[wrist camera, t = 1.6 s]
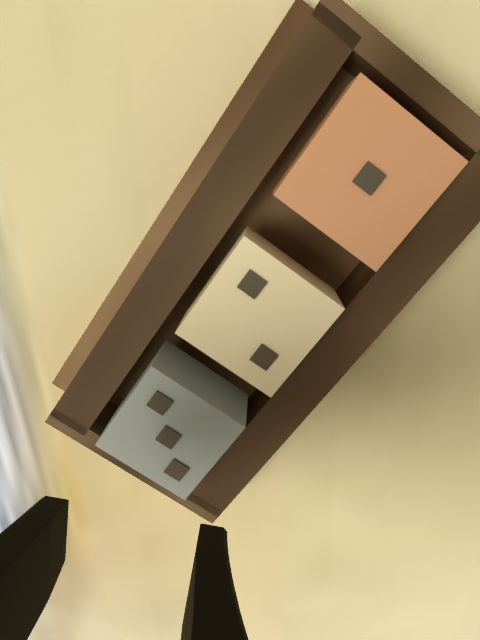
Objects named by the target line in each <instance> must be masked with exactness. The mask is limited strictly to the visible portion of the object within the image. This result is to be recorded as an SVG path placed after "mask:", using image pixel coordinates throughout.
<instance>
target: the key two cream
mask: <svg viewBox="0 0 480 640" xmlns="http://www.w3.org/2000/svg"><path fill="white" fill-rule="evenodd" d="M344 310H345V308H344V306H343V304H342V302H341V301H340V299H339V297H338V295H337V293H336V292H335V290H334V289H333V288H332V287H330V286H329V285H328V284H326V283H325V282H324V281H322V280H321V279H320V278H318V277H317V276H315V275H314V274H313V273H311V272H310V271H309V270H307V269H306V268H304V267H303V266H302V265H300V264H299V263H298V262H296V261H295V260H294V259H292V258H291V257H289V256H288V255H287V254H285V253H284V252H283V251H281V250H280V249H278V248H277V247H276V246H274V245H273V244H272V243H270V242H269V241H267V240H266V239H265V238H263V237H262V236H261V235H259V234H258V233H257V232H255V231H254V230H252V229H251V228H250V227H248V226H247V227H246V228H245V230H244V231H243V232H242V234H241V235H240V237H239V238H238V239H237V241H236V242H235V244H234V245H233V247H232V248H231V249H230V251H229V252H228V254H227V255H226V256H225V258H224V259H223V261H222V262H221V263H220V265H219V266H218V268H217V269H216V271H215V272H214V273H213V275H212V276H211V278H210V279H209V280H208V282H207V283H206V285H205V286H204V287H203V289H202V290H201V292H200V293H199V294H198V296H197V297H196V299H195V300H194V302H193V303H192V304H191V306H190V307H189V309H188V310H187V312H186V313H185V315H184V317H183V319H182V321H181V323H180V324H179V326H178V328H177V330H176V332H175V334H177V335H178V336H180V337H181V338H183V339H184V340H185V341H187V342H188V343H190V344H191V345H193V346H194V347H196V348H197V349H199V350H200V351H202V352H203V353H205V354H206V355H208V356H209V357H211V358H212V359H214V360H215V361H217V362H218V363H220V364H221V365H223V366H224V367H226V368H227V369H229V370H230V371H232V372H233V373H235V374H236V375H238V376H239V377H241V378H242V379H244V380H245V381H247V382H248V383H250V384H251V385H253V386H254V387H256V388H257V389H259V390H260V391H262V392H263V393H265V394H266V395H268V396H269V397H272V396H273V394H274V393H275V392H276V391H277V390H278V388H279V387H280V386H281V385H282V384H283V382H284V381H285V380H286V379H287V378H288V377H289V375H290V374H291V373H292V372H293V371H294V369H295V368H296V367H297V366H298V365H299V363H300V362H301V361H302V360H303V359H304V357H305V356H306V355H307V354H308V353H309V351H310V350H311V349H312V348H313V347H314V346H315V344H316V343H317V342H318V341H319V340H320V338H321V337H322V336H323V335H324V334H325V332H326V331H327V330H328V329H329V328H330V326H331V325H332V324H333V323H334V322H335V320H336V319H337V318H338V317H339V316H340V315H341V313H342V312H343V311H344Z"/></svg>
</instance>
